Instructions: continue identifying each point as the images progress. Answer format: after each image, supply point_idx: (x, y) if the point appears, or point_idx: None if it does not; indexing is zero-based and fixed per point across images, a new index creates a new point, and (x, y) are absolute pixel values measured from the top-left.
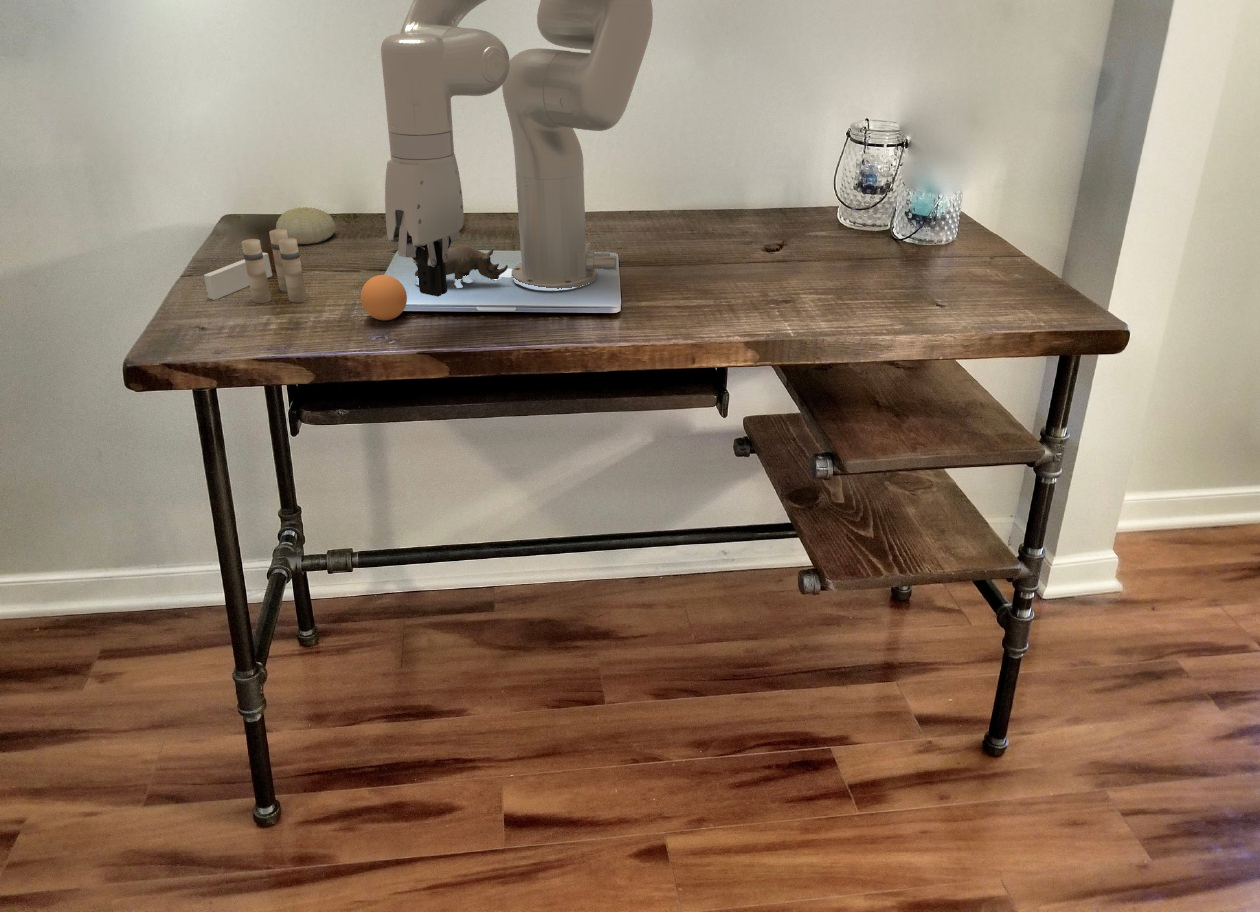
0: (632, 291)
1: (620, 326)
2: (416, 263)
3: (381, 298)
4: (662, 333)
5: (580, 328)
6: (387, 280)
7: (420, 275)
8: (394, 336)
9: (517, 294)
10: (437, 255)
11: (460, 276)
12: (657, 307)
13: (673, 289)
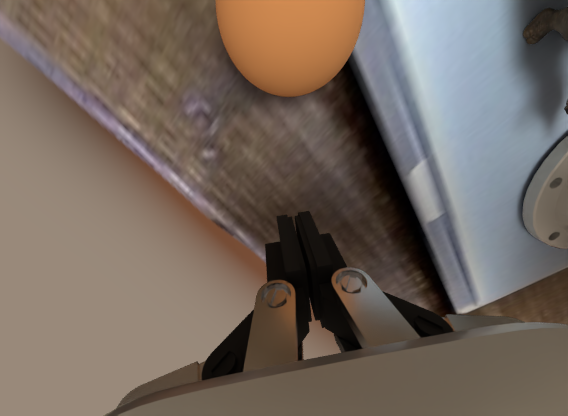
0: (539, 290)
1: None
2: (264, 292)
3: (242, 69)
4: None
5: None
6: (292, 43)
7: (267, 268)
8: (228, 135)
9: (505, 176)
10: (337, 331)
11: (563, 35)
12: None
13: (550, 315)
